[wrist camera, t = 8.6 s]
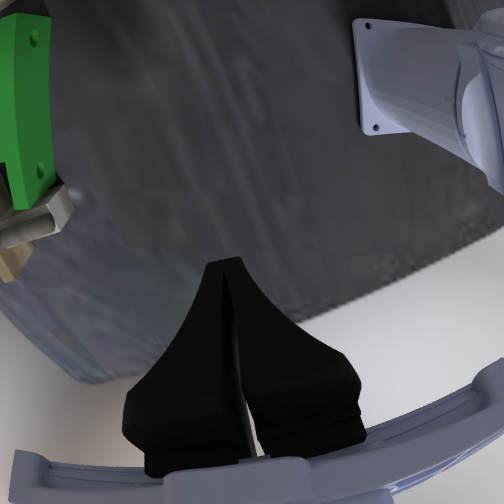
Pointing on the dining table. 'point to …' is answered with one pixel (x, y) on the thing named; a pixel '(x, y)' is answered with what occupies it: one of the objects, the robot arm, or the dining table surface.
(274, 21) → the dining table surface
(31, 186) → the pipe clamp
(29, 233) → the wooden drawer handle
